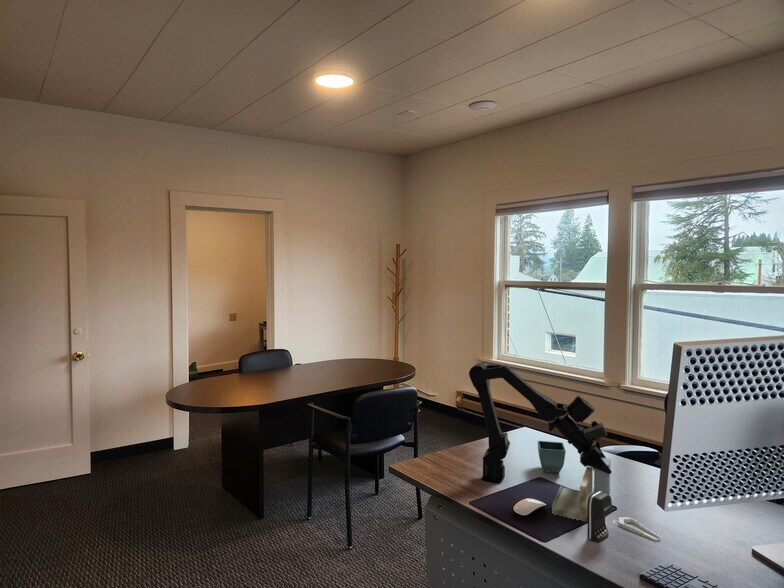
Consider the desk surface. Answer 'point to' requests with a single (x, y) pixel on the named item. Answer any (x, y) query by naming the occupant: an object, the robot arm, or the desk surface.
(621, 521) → the white looped flat piece
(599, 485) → the cabinet block
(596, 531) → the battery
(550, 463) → the flower pot
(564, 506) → the cream open holder
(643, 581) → the desk surface
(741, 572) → the desk surface
